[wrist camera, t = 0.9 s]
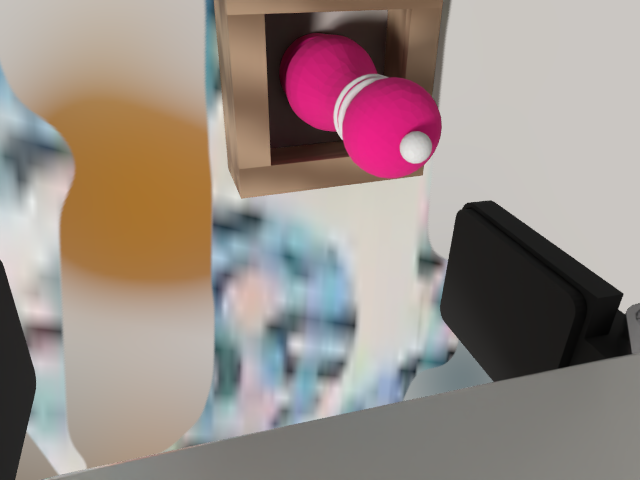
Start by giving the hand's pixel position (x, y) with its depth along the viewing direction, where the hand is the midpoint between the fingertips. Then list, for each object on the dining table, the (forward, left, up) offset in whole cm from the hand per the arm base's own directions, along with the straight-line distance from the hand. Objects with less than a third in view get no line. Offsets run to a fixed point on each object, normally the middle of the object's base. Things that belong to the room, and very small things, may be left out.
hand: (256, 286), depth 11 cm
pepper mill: (+4, +12, -35) cm, 37 cm away
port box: (+4, +12, -35) cm, 37 cm away
